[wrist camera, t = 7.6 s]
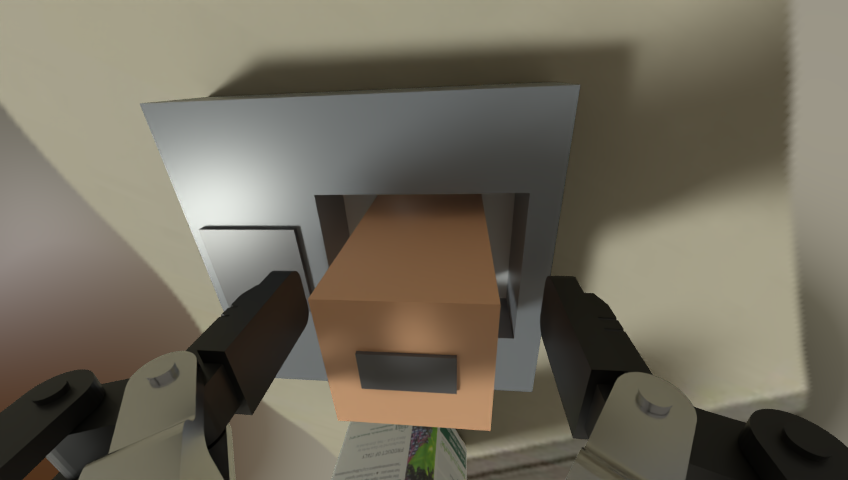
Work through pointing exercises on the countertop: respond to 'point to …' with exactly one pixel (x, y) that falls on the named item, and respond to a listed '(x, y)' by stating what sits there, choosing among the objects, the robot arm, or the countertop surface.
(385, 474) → the syrup box
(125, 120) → the countertop surface
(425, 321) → the block
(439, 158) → the plate
